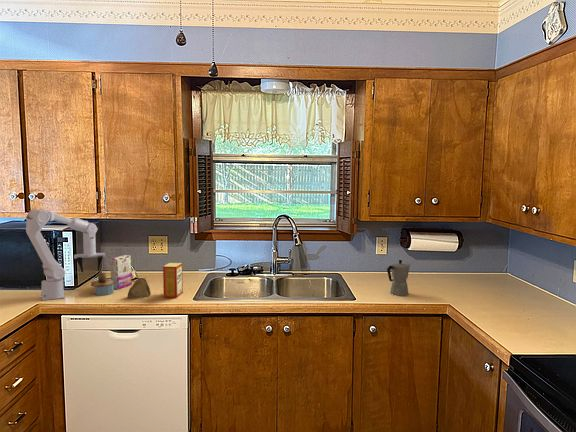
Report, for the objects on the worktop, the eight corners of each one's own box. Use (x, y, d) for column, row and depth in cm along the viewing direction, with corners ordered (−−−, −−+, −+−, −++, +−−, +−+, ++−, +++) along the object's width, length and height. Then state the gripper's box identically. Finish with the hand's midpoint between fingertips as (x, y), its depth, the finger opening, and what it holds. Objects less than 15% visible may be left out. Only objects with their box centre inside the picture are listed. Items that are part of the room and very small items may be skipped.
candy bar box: (124, 283, 232) (124, 254, 230) (132, 284, 230) (131, 255, 228) (110, 288, 221) (109, 258, 220) (118, 289, 219) (117, 259, 218)
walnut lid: (92, 288, 206) (92, 276, 205) (89, 283, 214) (89, 272, 214) (115, 285, 211) (114, 274, 211) (111, 281, 220) (111, 270, 219)
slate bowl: (95, 296, 207) (95, 287, 206) (94, 292, 214) (94, 283, 214) (114, 294, 211) (114, 285, 210) (112, 290, 218) (112, 282, 218)
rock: (122, 295, 201) (141, 293, 200) (125, 278, 206) (144, 276, 205) (132, 303, 210) (151, 301, 209) (135, 287, 215) (153, 285, 214)
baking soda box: (170, 292, 215) (169, 262, 214) (182, 292, 215) (182, 262, 213) (163, 297, 206) (163, 265, 204) (176, 298, 206) (176, 266, 204)
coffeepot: (402, 290, 225) (403, 257, 223) (415, 294, 217) (416, 260, 215) (380, 293, 217) (381, 259, 216) (393, 298, 209) (394, 263, 208)
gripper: (73, 247, 210) (74, 273, 211) (104, 245, 216) (105, 271, 217) (74, 245, 217) (75, 271, 218) (104, 243, 222) (105, 268, 224)
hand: (90, 271), depth 218 cm, fingers open, 7 cm apart
